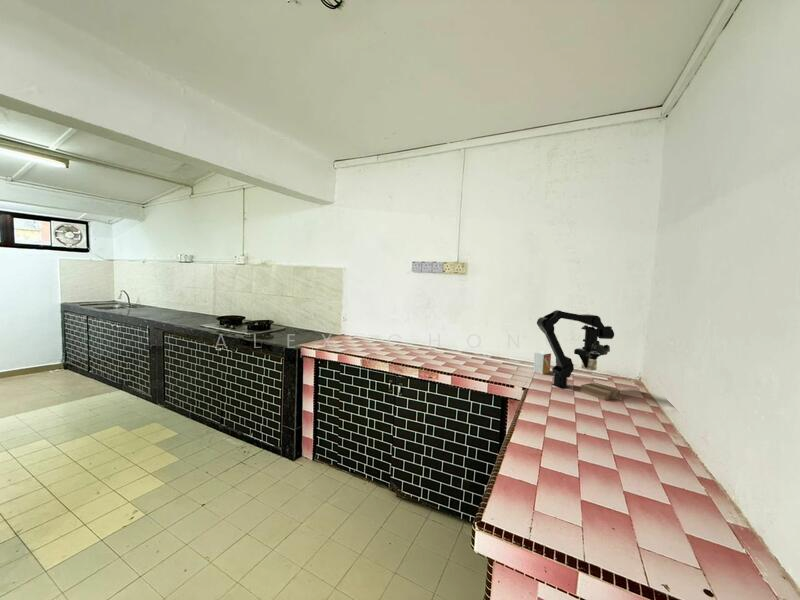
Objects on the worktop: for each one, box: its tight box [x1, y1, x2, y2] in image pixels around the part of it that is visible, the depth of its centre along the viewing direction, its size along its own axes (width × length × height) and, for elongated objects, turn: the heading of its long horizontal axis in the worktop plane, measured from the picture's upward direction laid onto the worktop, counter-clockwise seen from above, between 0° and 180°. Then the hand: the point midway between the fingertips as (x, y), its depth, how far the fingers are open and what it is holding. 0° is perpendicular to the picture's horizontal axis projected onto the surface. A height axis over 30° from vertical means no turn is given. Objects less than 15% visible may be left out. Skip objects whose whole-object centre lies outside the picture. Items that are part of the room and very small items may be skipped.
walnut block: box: [580, 381, 621, 401], centre depth 153 cm, size 12×12×4 cm
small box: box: [532, 350, 552, 375], centre depth 186 cm, size 8×6×13 cm
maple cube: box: [580, 359, 598, 372], centre depth 163 cm, size 5×5×5 cm
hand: (588, 367), depth 163 cm, fingers closed on maple cube, 5 cm apart
